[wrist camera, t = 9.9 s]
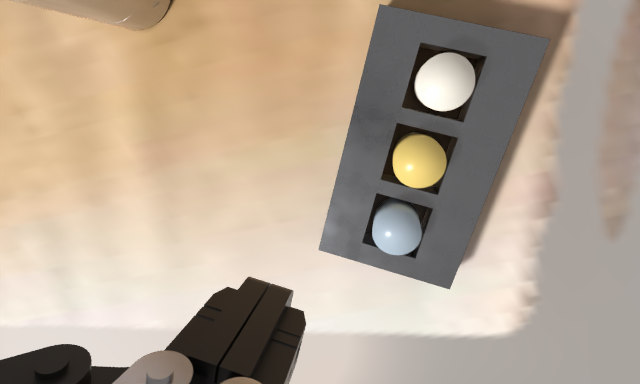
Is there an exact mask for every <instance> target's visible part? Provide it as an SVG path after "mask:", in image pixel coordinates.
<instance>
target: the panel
mask: <svg viewBox="0 0 640 384" xmlns="http://www.w3.org/2000/svg"><path fill="white" fill-rule="evenodd" d="M549 41H550V39H547V38H542V37H537V36H532V35H527V34H522V33H517V32H513V31H508V30H503V29H498V28H493V27H488V26H483V25H478V24H474V23H469V22H464V21H459V20H454V19H449V18H444V17H439V16H435V15H430V14H425V13H420V12H415V11H410V10H405V9H400V8H395V7H391V6H386V5H381V4H380V5H379V9H378V13H377V17H376V21H375V25H374V29H373V33H372V37H371V41H370V45H369V49H368V53H367V57H366V61H365V65H364V69H363V73H362V77H361V81H360V85H359V90H358V94H357V98H356V102H355V106H354V110H353V114H352V118H351V122H350V126H349V130H348V134H347V138H346V142H345V146H344V150H343V154H342V158H341V162H340V166H339V170H338V174H337V178H336V182H335V186H334V190H333V194H332V198H331V202H330V206H329V210H328V214H327V218H326V222H325V226H324V230H323V234H322V238H321V242H320V246H319V250H321V251H324V252H327V253H331V254H334V255H337V256H341V257H344V258H347V259H351V260H354V261H357V262H361V263H364V264H367V265H371V266H374V267H377V268H381V269H384V270H387V271H390V272H394V273H397V274H400V275H404V276H407V277H410V278H414V279H417V280H420V281H424V282H427V283H430V284H434V285H437V286H440V287H444V288H447V289H450V287H451V285H452V282H453V280H454V277H455V275H456V272H457V270H458V267H459V265H460V262H461V260H462V257H463V255H464V253H465V250H466V248H467V245H468V243H469V240H470V238H471V235H472V233H473V230H474V228H475V225H476V223H477V220H478V218H479V215H480V213H481V210H482V208H483V205H484V203H485V200H486V198H487V195H488V193H489V190H490V188H491V185H492V183H493V180H494V178H495V175H496V173H497V170H498V168H499V165H500V163H501V160H502V158H503V155H504V153H505V150H506V148H507V145H508V143H509V141H510V138H511V136H512V133H513V131H514V128H515V126H516V123H517V121H518V118H519V116H520V113H521V111H522V108H523V106H524V103H525V101H526V98H527V96H528V93H529V91H530V88H531V86H532V83H533V81H534V78H535V76H536V73H537V71H538V68H539V66H540V63H541V61H542V58H543V56H544V53H545V51H546V48H547V46H548V43H549ZM419 47H422V48H427V49H432V50H436V51H441V52H445V53H456V54H459V55H461V56H464V57H468V58H473V59H478V62H477V65H476V68H475V71H474V72H475V86H474V89H473V92H472V94H471V95H470V97H469V98H468V99H467V101H466V102H465V103H463V106H462V109H461V112H460V114H459V117H458V120H455V119H451V118H447V117H443V116H439V115H435V114H431V113H426V112H422V111H418V110H414V109H410V108H406V107H402V104H403V101H404V97H405V94H406V90H407V87H408V84H409V80H410V77H411V73H412V70H413V66H414V63H415V60H416V56H417V53H418V49H419ZM397 123H400V124H404V125H408V126H412V127H416V128H420V129H424V130H428V131H432V132H436V133H440V134H445V135H449V136H452V137H451V140H450V143H449V146H448V149H447V152H446V160H447V163H446V169H445V171H444V174H443V175H442V177H441V178H440V179H439V180H438V181H437V182H436V184H435V187H432V186H428V187H425V188H413V187H409V186H407V185H405V184H403V183H402V182H401V181H400V180H399V179H398V178H397V177H395V176H391V175H387V174H384V173H383V169H384V166H385V162H386V159H387V156H388V152H389V149H390V145H391V142H392V138H393V135H394V132H395V128H396V125H397ZM376 193H378V194H382V195H386V196H389V197H393V198H397V199H400V200H404V201H408V202H411V203H415V204H418V205H422V206H426V207H427V210H426V212H425V215H424V218H423V221H422V224H421V231H422V236H421V240H420V242H419V244H418V246H417V247H416V248H415V249H414V250H413V251H411V252H409V253H407V254H404V255H391V254H388V253H386V252H384V251H382V250H381V249H380V248H379V247H378V246H377V245H376V244H375V242H374V240H373V236H372V234H370V233H366V232H365V231H366V227H367V224H368V221H369V217H370V214H371V210H372V207H373V203H374V200H375V197H376Z"/></svg>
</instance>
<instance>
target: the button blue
mask: <svg viewBox="0 0 640 384" xmlns="http://www.w3.org/2000/svg"><path fill="white" fill-rule="evenodd" d="M372 236H373V240H374V242H375V244H376V245H377V246H378V247H379V248H380V249H381V250H382V251H384V252H386V253H388V254H391V255H404V254H407V253H409V252H411V251H413V250H414V249H415V248H416V247H417V246H418V244H419V242H420V240H421V236H422V231H421V226H420V221H419V216H418V212H417V210H416V208H415V206H414V205H413V204H412V203H411V202H408V201H404V200H400V199H397V198H389V199H386V200H384V201H383V202H382V203H380V204H379V206H378V207H377V209H376V211H375V215H374V221H373V228H372Z"/></svg>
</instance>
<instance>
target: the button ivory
mask: <svg viewBox="0 0 640 384" xmlns="http://www.w3.org/2000/svg"><path fill="white" fill-rule="evenodd" d="M474 86H475V72H474V69H473V67H472V65H471V63H470V62H469V61H468V60H467V59H466V58H465V57H463V56H461V55H459V54H456V53H442V54H438V55H436V56H434V57H432V58H431V59H429V60H428V61H427V62H426V63H425V64H424V65H423V66H422V67H421V68H420V69H419V70H418V72H417V74H416V76H415V79H414V92H415V95H416V97H417V99H418V100H419V101H420V102H421V103H422V104H423V105H424V106H426V107H429V108H431V109H434V110H437V111H449V110H453V109H455V108H457V107H459V106H461V105H462V104H463V103H465V102H466V101H467V99H468V98H469V97H470V95H471V94H472V92H473V89H474Z"/></svg>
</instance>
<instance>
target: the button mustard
mask: <svg viewBox="0 0 640 384" xmlns="http://www.w3.org/2000/svg"><path fill="white" fill-rule="evenodd" d="M446 163H447V160H446V155H445V152H444V150H443V148H442V147H441V146H440V145H439V144H438V143H437V141H436V140H435V139H434V138H433V137H431V136H430V135H428V134H426V133H422V132H413V133H409V134H407V135H405V136H403V137H402V138H401V139H400V140H399V141H398V142H397V143H396V145H395V147H394V150H393V170H394V173H395V175H396V176H397V178H398V179H399V180H400V181H401V182H402V183H403V184H405V185H407V186H409V187H413V188H425V187H428V186H431V185H433V184H434V183H436V182H437V181H438V180H439V179H440V178H441V177H442V175H443V174H444V171H445V169H446Z"/></svg>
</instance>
